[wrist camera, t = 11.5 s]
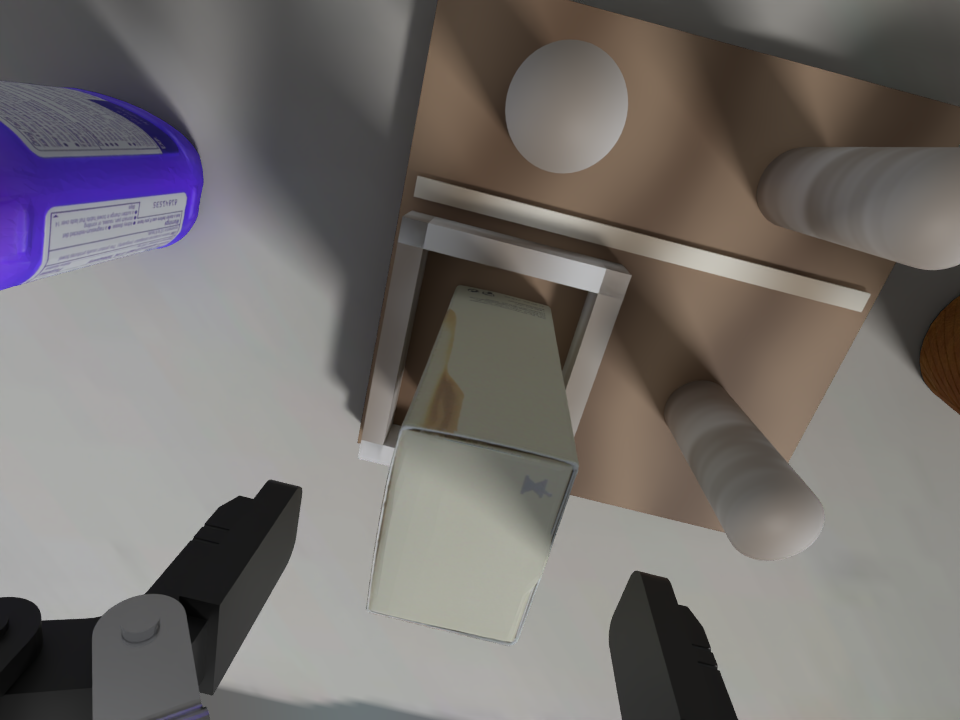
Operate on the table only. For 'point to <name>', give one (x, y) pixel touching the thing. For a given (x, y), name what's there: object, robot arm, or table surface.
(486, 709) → the table surface
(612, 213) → the pin board
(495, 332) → the skincare box
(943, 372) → the disposable coffee cup
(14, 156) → the bottle
